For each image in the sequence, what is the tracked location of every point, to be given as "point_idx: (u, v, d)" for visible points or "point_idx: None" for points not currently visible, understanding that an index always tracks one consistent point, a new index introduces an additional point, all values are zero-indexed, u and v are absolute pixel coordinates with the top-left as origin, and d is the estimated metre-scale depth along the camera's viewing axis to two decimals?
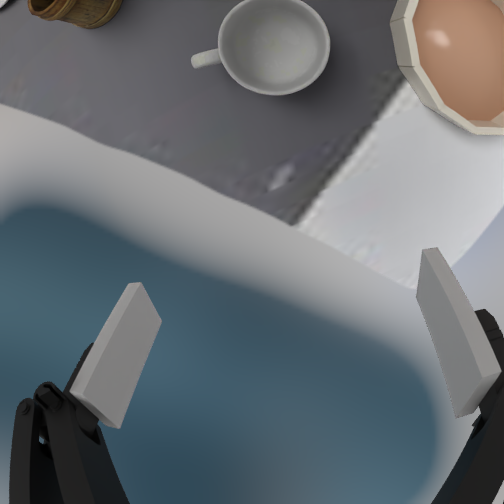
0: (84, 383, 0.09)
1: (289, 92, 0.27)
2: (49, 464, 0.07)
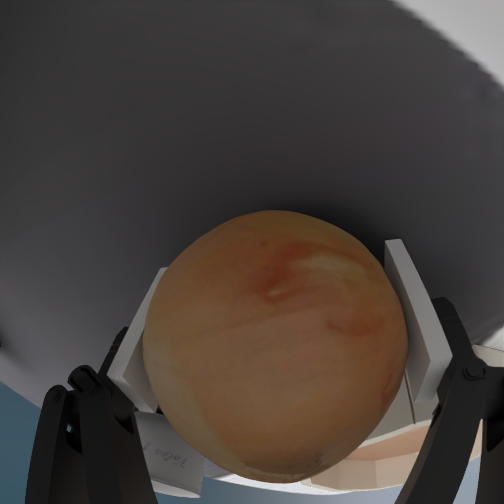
0: (123, 365, 0.10)
1: None
2: (74, 456, 0.08)
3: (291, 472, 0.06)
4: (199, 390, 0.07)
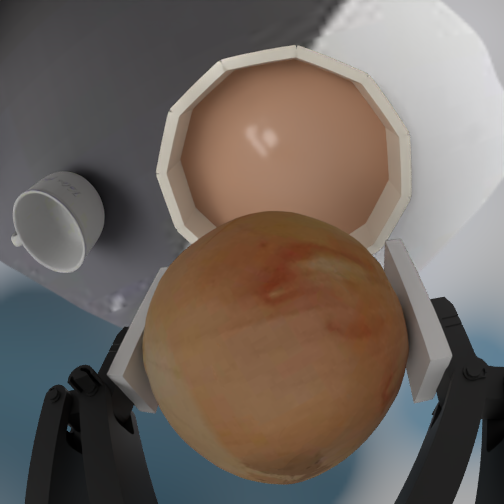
0: (123, 365, 0.10)
1: (70, 271, 0.31)
2: (74, 456, 0.08)
3: (291, 473, 0.06)
4: (198, 391, 0.07)
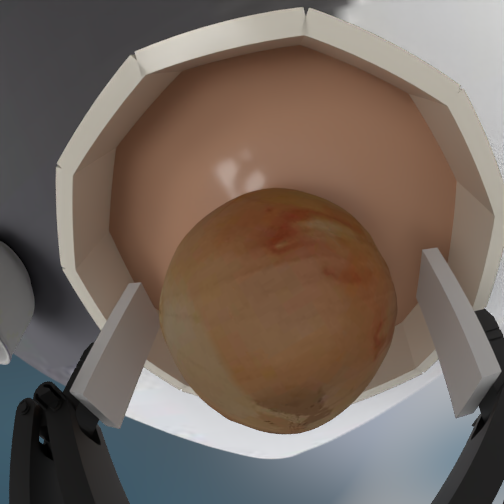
0: (84, 383, 0.09)
1: (2, 363, 0.19)
2: (49, 464, 0.07)
3: (297, 412, 0.08)
4: (215, 331, 0.08)
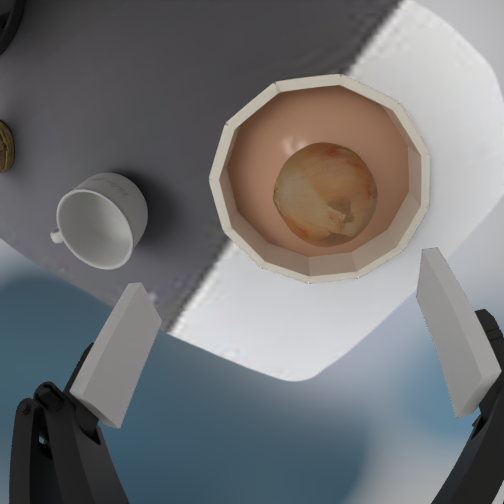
0: (84, 383, 0.09)
1: (113, 268, 0.35)
2: (49, 464, 0.07)
3: (341, 210, 0.23)
4: (312, 179, 0.24)
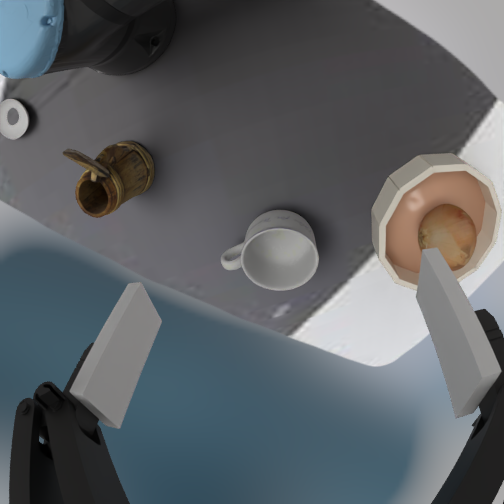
0: (84, 383, 0.09)
1: (288, 289, 0.45)
2: (49, 464, 0.07)
3: (466, 252, 0.34)
4: (453, 233, 0.34)
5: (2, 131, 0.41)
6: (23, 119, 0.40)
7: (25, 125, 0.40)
